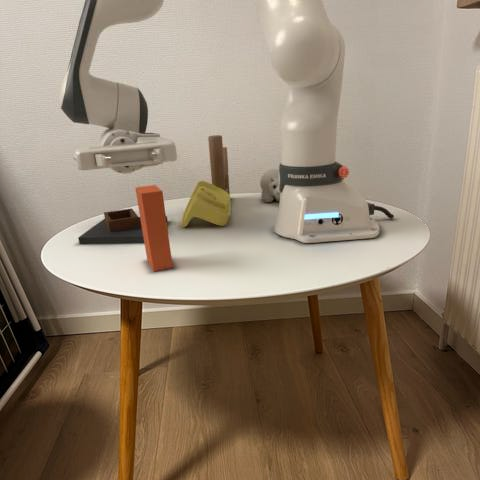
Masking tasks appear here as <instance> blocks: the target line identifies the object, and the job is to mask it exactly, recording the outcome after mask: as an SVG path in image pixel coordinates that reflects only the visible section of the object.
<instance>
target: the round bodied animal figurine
mask: <svg viewBox="0 0 480 480" xmlns="http://www.w3.org/2000/svg"><path fill="white" fill-rule="evenodd" d="M278 175H279V169H277V168H270V169H268V170H266V171H264V173H262V175H261V177H260V181H259V182H260V183H259V186H260V189H261V193H260V197H261V199H263V201H264V202H265V203H272V202H273V201H274V199H275V202H277V203H278V202H279V203H280V191H279V177H278Z"/></svg>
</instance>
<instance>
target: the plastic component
mask: <svg viewBox="0 0 480 480" xmlns="http://www.w3.org/2000/svg"><path fill="white" fill-rule="evenodd" d="M231 207H232V204H231V194H230V195H229V194H228V193H227V192H226V191H224V190H223V189H221V188H218V187H216V186H215V185H213V184H212V183H210V182H207V181H206V180H199V181H198V182H197V184H196V185H195V188H194V189H193V191H192V194H191V196H190V198H189V200H188V202H187V204H186V207H185V209H184V212H183V215H182V218H181V222H180V225H179V227H182V228H186V227H187V226H188V224H189V223H190V222H191V220H192V219H193V218H198V219H201V220H203V221H206V222H208V223H211V224H213V225H217V226H220V227H224V226H226V225H227V224H228V221H229V218H230V216H231V213H232V212H231V211H232V208H231Z"/></svg>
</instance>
